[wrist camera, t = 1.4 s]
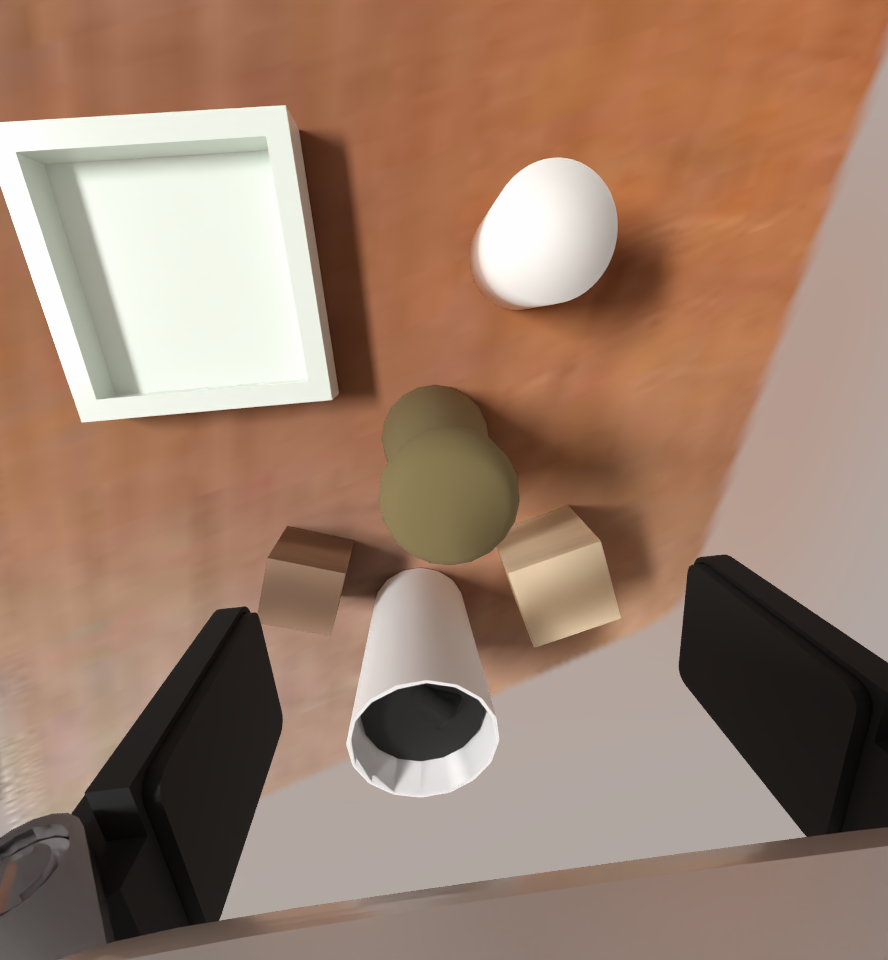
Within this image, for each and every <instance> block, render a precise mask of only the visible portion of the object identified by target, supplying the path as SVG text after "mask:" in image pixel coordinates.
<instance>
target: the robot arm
mask: <svg viewBox="0 0 888 960" xmlns="http://www.w3.org/2000/svg"><path fill="white" fill-rule="evenodd" d="M679 671H680V675H681V678H682V680H683V682H684V683H685V685H686V686H687V687H688V689H689V690H690V691H691V692H692V694H693V695H694V696H695V698H697V700H698V701H699V703H700V704H701V705H702V706H703V708H704V709H705V710H706V711H707V713H708V714H709V715H710V716H711V718H712V719H713V720H714V721H715V722H716V724H717V725H718V726H719V728H720V729H721V730H722V731H723V733H724V734H725V735H726V736H727V738H728V739H729V740H730V741H731V743H732V744H733V745H734V746H735V748H736V749H737V750H738V751H739V753H740V754H741V755H742V757H743V758H744V759H745V760H746V761H747V763H748V764H749V765H750V767H751V768H752V769H753V770H754V772H755V773H756V774H757V775H758V776H759V778H760V779H761V780H762V782H763V783H764V784H765V785H766V787H767V788H768V789H769V790H770V792H771V793H772V794H773V795H774V797H775V798H776V799H777V800H778V802H779V803H780V804H781V805H782V807H783V808H784V809H785V810H786V812H787V813H788V814H789V815H790V817H791V818H792V819H793V820H794V822H795V823H796V824H797V825H798V827H799V828H800V829H801V831H802V832H803V833H804V834H805V835H806V836H807V837H804V838H796V839H789V840H781V841H774V842H766V843H758V844H751V845H743V846H736V847H728V848H721V849H713V850H706V851H697V852H690V853H683V854H675V855H668V856H661V857H653V858H647V859H639V860H631V861H624V862H617V863H609V864H602V865H595V866H588V867H581V868H574V869H567V870H559V871H552V872H545V873H537V874H531V875H523V876H516V877H509V878H501V879H494V880H488V881H480V882H473V883H466V884H459V885H452V886H445V887H439V888H432V889H424V890H418V891H411V892H405V893H397V894H390V895H383V896H376V897H370V898H363V899H356V900H349V901H342V902H335V903H328V904H321V905H315V906H308V907H300V908H294V909H288V910H282V911H276V912H270V913H264V914H258V915H252V916H246V917H239V918H234V919H227V920H222V921H219V919H220V916H221V914H222V911H223V908H224V904H225V902H226V899H227V896H228V893H229V889H230V886H231V883H232V880H233V877H234V874H235V871H236V868H237V865H238V862H239V859H240V856H241V853H242V850H243V847H244V844H245V841H246V838H247V835H248V831H249V828H250V826H251V823H252V820H253V817H254V813H255V810H256V807H257V804H258V801H259V798H260V795H261V792H262V789H263V786H264V783H265V780H266V777H267V774H268V771H269V768H270V765H271V762H272V759H273V756H274V753H275V750H276V747H277V743H278V740H279V737H280V734H281V730H282V722H283V718H282V711H281V706H280V702H279V698H278V694H277V690H276V685H275V681H274V677H273V673H272V669H271V664H270V660H269V656H268V652H267V648H266V643H265V639H264V635H263V631H262V627H261V622H260V619H259V616H258V614H257V613H250V610H249V609H248V608H247V607H237V608H227V609H219V610H216V611H215V612H214V613H213V615H212V616H211V617H210V619H209V620H208V622H207V623H206V624H205V626H204V627H203V629H202V630H201V631H200V633H199V634H198V636H197V637H196V638H195V640H194V641H193V643H192V644H191V645H190V647H189V648H188V650H187V651H186V652H185V654H184V655H183V656H182V658H181V659H180V661H179V662H178V663H177V665H176V666H175V668H174V669H173V670H172V672H171V673H170V675H169V676H168V677H167V679H166V680H165V682H164V683H163V684H162V686H161V687H160V688H159V690H158V691H157V693H156V694H155V695H154V697H153V698H152V700H151V701H150V702H149V704H148V705H147V707H146V708H145V709H144V711H143V712H142V714H141V715H140V716H139V718H138V719H137V720H136V722H135V723H134V725H133V726H132V727H131V729H130V730H129V732H128V733H127V734H126V736H125V737H124V739H123V740H122V741H121V743H120V744H119V746H118V747H117V748H116V750H115V751H114V753H113V754H112V755H111V757H110V758H109V759H108V761H107V762H106V764H105V765H104V766H103V768H102V769H101V771H100V772H99V773H98V775H97V776H96V778H95V779H94V780H93V782H92V783H91V785H90V786H89V787H88V789H87V790H86V791H85V796H84V797H83V798H82V800H81V801H80V803H79V804H78V805H77V807H76V808H75V810H74V811H73V812H72V814H69V813H56V814H49V815H46V816H43V817H40V818H36V819H33V820H31V821H29V822H27V823H25V824H23V825H21V826H19V827H17V828H15V829H13V830H11V831H9V832H8V833H6V834H5V835H3V836H2V837H0V960H888V663H887V662H886V661H884V660H883V659H881V658H880V657H878V656H877V655H875V654H874V653H872V652H871V651H870V650H868V649H867V648H865V647H864V646H862V645H861V644H859V643H858V642H856V641H855V640H853V639H852V638H850V637H849V636H847V635H846V634H844V633H843V632H841V631H840V630H839V629H837V628H836V627H834V626H833V625H831V624H830V623H828V622H826V621H825V620H824V619H822V618H821V617H819V616H818V615H816V614H815V613H813V612H811V611H810V610H809V609H808V608H806V607H804V606H803V605H802V604H800V603H799V602H797V601H796V600H794V599H793V598H791V597H790V596H788V595H787V594H785V593H784V592H782V591H781V590H779V589H778V588H776V587H775V586H773V585H772V584H771V583H769V582H768V581H766V580H765V579H763V578H762V577H760V576H759V575H757V574H756V573H754V572H753V571H751V570H750V569H748V568H747V567H745V566H744V565H743V564H741V563H739V562H738V561H736V560H735V559H734V558H732V557H731V556H728V555H716V556H707V557H699V558H698V559H696V561H695V563H694V565H691V566H690V567H689V569H688V574H687V584H686V595H685V605H684V616H683V626H682V636H681V647H680V658H679Z"/></svg>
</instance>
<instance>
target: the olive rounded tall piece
mask: <svg viewBox="0 0 888 960" xmlns="http://www.w3.org/2000/svg"><path fill="white" fill-rule="evenodd" d="M382 442H383V447H384V452H385V456H386V459H387V462H388V464H387V466H386V468H385V470H384V472H383V474H382V478H381V485H380V493H379V504H380V508H381V513H382V517H383V521H384V523H385V525H386V527H387V528H388V530H389V531H390V533H391V535H392V536H393V538H394V540H395V541H396V543H398V544H399V545H400V546H401V547H402V548H404V549H405V550H406V551H407V552H408V553H410V554H411V555H412V556H415V557H417V558H419V559H422V560H424V561H427V562H429V563H435V564H444V565H455V564H460V563H466V562H471V561H473V560H475V559H477V558H479V557H481V556H483V555H486V554H488V553H490V552H491V551H492V550H493V549H494V548H495V547H496V546H497V545H498V544H499V543H501V542H502V541H503V540H504V539H505V537H506V536H507V534H508V532H509V531H510V529H511V527H512V526H513V524H514V522H515V519H516V514H517V510H518V505H519V489H518V480H517V475H516V473H515V471H514V468H513V466H512V464H511V462H510V460H509V458H508V456H507V455H506V454H505V453H504V452H503V451H502V450H501V449H500V448H499V447H498V446H497V445H496V444H495V443H494V442H493V441H492V440H491V439H490V438H489V437H488V431H487V425H486V421H485V419H484V417H483V415H482V413H481V410H480V408H479V407H478V406H477V405H476V404H475V403H474V402H473V401H472V400H471V399H470V398H469V397H468V396H467V395H466V394H464V393H462V392H460V391H458V390H456V389H454V388H452V387H445V386H439V385H432V386H426V387H420V388H417V389H415V390H413V391H411V392H409V393H407V394H406V395H404V396H402V397H401V398H400V399H399V400H398V402H397V403H396V404H395V405H394V406H393V407H392V408H391V410H390V412H389V414H388V416H387V418H386V420H385V422H384V427H383V436H382Z"/></svg>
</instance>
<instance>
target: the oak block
mask: <svg viewBox="0 0 888 960" xmlns="http://www.w3.org/2000/svg"><path fill="white" fill-rule="evenodd" d="M496 547H497V550H498V553H499V556H500V559H501V561H502V564H503V567H504V570H505V573H506V576H507V578H508V581H509V584H510V587H511V590H512V593H513V595H514V598H515V601H516V603H517V606H518V608H519V611H520V613H521V616H522V619H523V621H524V624H525V626H526V629H527V631H528V634H529V636H530V639H531V641H532V644H533V647H534V648H536V647H539V646H542V645H545V644H547V643H550V642H553V641H556V640H559V639H562V638H565V637H568V636H571V635H574V634H577V633H580V632H583V631H586V630H588V629H591V628H594V627H597V626H600V625H603V624H606V623H609V622H612V621H615V620H618V619H621V616H620V612H619V608H618V605H617V601H616V597H615V593H614V589H613V586H612V582H611V578H610V574H609V570H608V566H607V563H606V559H605V555H604V551H603V547H602V543H601V541H600V540H599V538H598V537H597V536H596V535H595V534H594V533H593V532H592V531H591V530H590V529H589V527H588V526H587V525H586V524H585V523H584V522H583V521H582V520H581V519H580V518H579V516H578V515H577V514H576V513H575V512H574V511H573V510H572V509H571V508H570V507H569V505H568V506H565V507H562V508H560V509H557V510H554V511H551V512H548V513H545V514H543V515H540V516H537V517H534V518H531V519H528V520H526V521H523V522H520V523H517V524H514V525H513V526H512V527H511V529H510V531H509V532H508V534H507V536H506V537H505V539H504V540H503V541H502V542H501V543H499V544H498V545H497V546H496Z"/></svg>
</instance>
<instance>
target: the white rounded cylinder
mask: <svg viewBox="0 0 888 960" xmlns="http://www.w3.org/2000/svg"><path fill="white" fill-rule="evenodd" d="M617 232H618V219H617V212H616V207H615V203H614V200H613V198H612V195H611V193H610V191H609V189H608V187H607V185H606V184H605V183H604V181H603V180H602V179H601V177H600V176H599V175H598V174H597V173H596V172H595V171H593V170H592V169H591V168H589V167H588V166H586V165H584V164H582V163H581V162H578V161H575V160H572V159H567V158H549V159H544V160H540V161H537V162H535V163H533V164H531V165H529V166H527V167H526V168H524V169H522V170H521V171H520V172H519V173H517V174H516V175H515V176H514V177H513V178H512V179H511V180H510V181H509V183H508V184H507V185H506V186H505V188H504V189H503V191H502V192H501V194H500V195H499V197H498V198H497V200H496V201H495V203H494V204H493V206H492V207H491V209H490V210H489V212H488V213H487V215H486V216H485V218H484V219H483V220H482V222H481V223H480V225H479V226H478V228H477V230H476V232H475V234H474V237H473V239H472V243H471V247H470V269H471V273H472V277H473V280H474V282H475V284H476V286H477V288H478V289H479V291H480V292H481V293H482V295H483V296H484V297H485V298H486V299H488V300H489V301H490V302H491V303H493V304H495V305H496V306H499V307H501V308H504V309H508V310H523V309H529V308H535V307H541V306H546V305H552V304H558V303H563V302H566V301H570V300H572V299H574V298H576V297H578V296H580V295H582V294H583V293H585V292H586V291H587V290H589V289H590V288H591V287H592V286H593V285H594V284H595V283H596V282H597V281H598V280H599V278H600V277H601V276H602V275H603V273H604V272H605V270H606V268H607V267H608V265H609V262H610V260H611V258H612V255H613V252H614V249H615V245H616V241H617Z"/></svg>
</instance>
